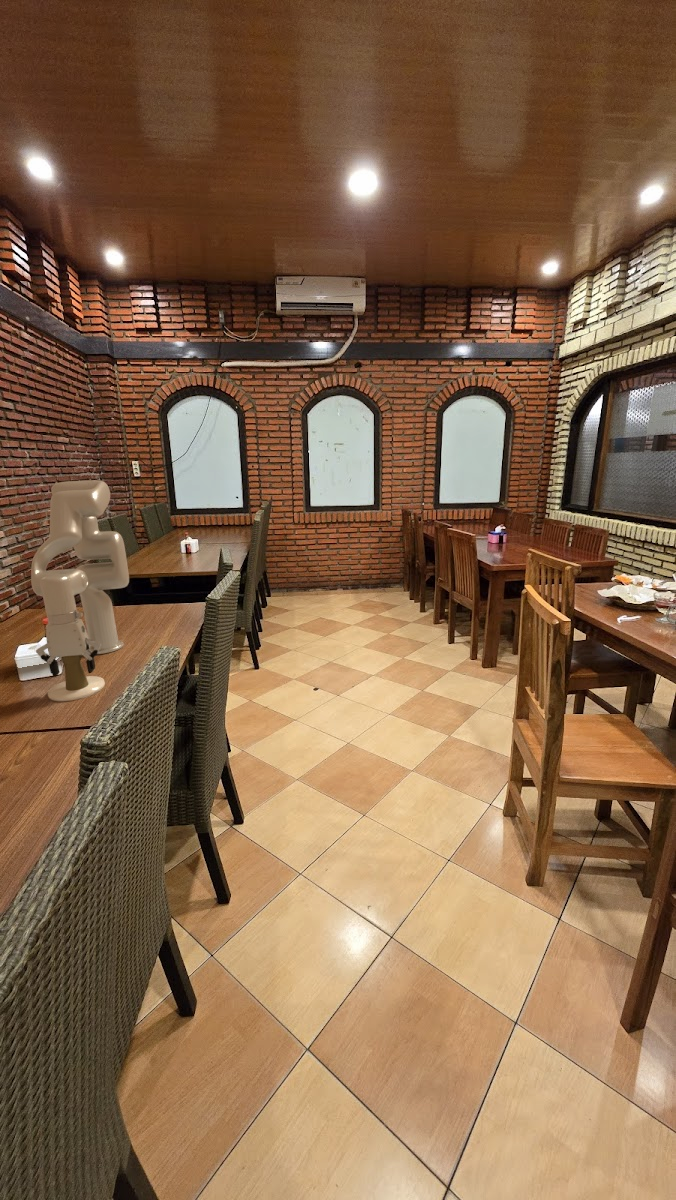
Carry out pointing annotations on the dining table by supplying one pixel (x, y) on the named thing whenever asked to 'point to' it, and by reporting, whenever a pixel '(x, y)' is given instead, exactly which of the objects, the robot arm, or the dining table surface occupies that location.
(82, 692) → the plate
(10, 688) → the dining table surface
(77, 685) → the cork
